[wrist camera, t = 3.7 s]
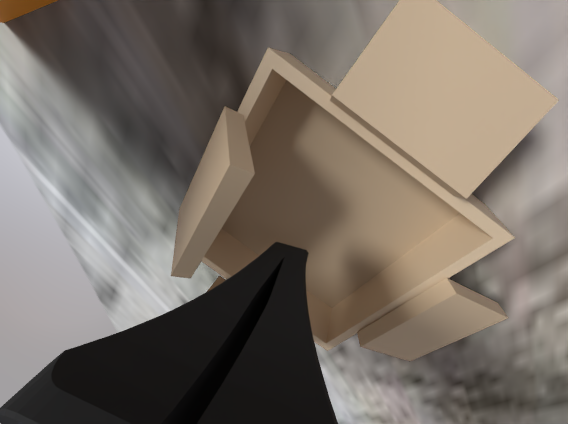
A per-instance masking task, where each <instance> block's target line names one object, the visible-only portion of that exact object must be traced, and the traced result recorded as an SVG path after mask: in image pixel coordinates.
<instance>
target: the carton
mask: <svg viewBox="0 0 568 424" xmlns="http://www.w3.org/2000/svg"><path fill="white" fill-rule="evenodd" d="M558 101H559V100H558V99H557V98H556V97H555V96H554V95H552V94H551V93H550V92H549V91H547V90H546V89H545V88H544V87H542V86H541V85H540V84H539V83H538V82H536V81H535V80H534V79H533V78H531V77H530V76H529V75H528V74H526V73H525V72H524V71H523V70H522V69H520V68H519V67H518V66H517V65H515V64H514V63H513V62H512V61H510V60H509V59H508V58H507V57H506V56H504V55H503V54H502V53H501V52H499V51H498V50H497V49H496V48H494V47H493V46H492V45H491V44H489V43H488V42H487V41H486V40H485V39H483V38H482V37H481V36H480V35H478V34H477V33H476V32H475V31H473V30H472V29H471V28H470V27H469V26H467V25H466V24H465V23H464V22H462V21H461V20H460V19H459V18H457V17H456V16H455V15H454V14H453V13H451V12H450V11H449V10H448V9H446V8H445V7H444V6H443V5H441V4H440V3H439V2H438V1H436V0H399V2H398V3H397V4H396V6H395V7H394V9H393V10H392V11H391V13H390V14H389V16H388V17H387V18H386V20H385V21H384V23H383V24H382V25H381V27H380V28H379V30H378V31H377V32H376V34H375V35H374V37H373V38H372V39H371V41H370V42H369V44H368V45H367V47H366V48H365V49H364V51H363V52H362V54H361V55H360V56H359V58H358V59H357V61H356V62H355V63H354V65H353V66H352V68H351V69H350V70H349V72H348V73H347V75H346V76H345V77H344V79H343V80H342V82H341V83H340V84H339V86H338V87H337V89H335V88H334V87H333V86H332V85H330V84H329V83H328V82H326V81H325V80H324V79H323V78H321V77H320V76H319V75H317V74H316V73H315V72H313V71H312V70H311V69H310V68H308V67H307V66H306V65H304V64H303V63H302V62H301V61H299V60H298V59H297V58H295V57H294V56H293V55H291V54H289V53H286V52H282V51H279V50H275V49H272V48H269V47H268V48H267V51H266V53H265V55H264V57H263V59H262V61H261V63H260V65H259V67H258V69H257V71H256V74H255V76H254V78H253V80H252V82H251V84H250V86H249V88H248V90H247V92H246V94H245V97H244V99H243V101H242V103H241V105H240V107H239V109H238V111H237V112H238V113H240V114H242V115H243V116H244V121H245V126H246V131H247V136H248V141H249V146H250V151H251V156H252V161H253V166H254V172H255V174H254V176H253V178H252V179H251V181H250V182H249V184H248V186H247V187H246V189H245V191H244V192H243V194H242V195H241V197H240V199H239V200H238V202H237V204H236V205H235V207H234V208H233V210H232V212H231V213H230V215H229V217H228V218H227V220H226V222H225V223H224V225H223V226H222V228H221V230H220V231H219V233H218V235H217V236H216V238H215V239H214V241H213V243H212V244H211V246H210V248H209V249H208V251H207V253H206V254H205V256H204V257H203V259H202V262H203V263H205V264H206V265H207V266H209V267H210V268H212V269H213V270H214V271H216V272H217V273H219V274H220V275H221V276H223V277H224V278H226V279H228V278H230V277H231V276H233V275H234V274H236V273H237V272H239V271H240V270H241V269H243V268H244V267H245V266H247V265H248V264H249V263H251V262H252V261H253V260H255V259H256V258H257V257H258V256H260V255H261V254H262V253H263V252H264V251H266V250H267V249H268V248H269V247H270V246H271V245H272V244H274V243H275V242H280V243H283V244H287V245H291V246H294V247H298V248H301V249H305V250H307V252H308V253H309V254H308V258H307V263H306V294H307V304H308V311H309V318H310V324H311V329H312V334H313V339H314V342H315V343H317V344H318V345H320V346H321V347H323V348H324V349H325V350H327V351H328V350H330V349H332V348H333V347H335V346H337V345H338V344H340V343H342V342H343V341H345V340H347V339H348V338H350V337H352V336H353V335H355V334H358V338H359V343H360V347H363V348H366V349H370V350H373V351H376V352H380V353H383V354H387V355H390V356H393V357H397V358H400V359H403V360H407V361H412V360H415V359H417V358H419V357H421V356H424V355H426V354H428V353H430V352H433V351H435V350H437V349H440V348H442V347H444V346H446V345H449V344H451V343H453V342H455V341H458V340H460V339H462V338H464V337H467V336H469V335H471V334H474V333H476V332H478V331H480V330H483V329H485V328H487V327H489V326H492V325H494V324H496V323H499V322H501V321H503V320H505V319H508V316H507V315H506V314H505V312H504V311H503V310H502V308H501V307H500V306H499V304H498V303H497V302H495V301H493V300H491V299H489V298H487V297H485V296H483V295H481V294H479V293H476V292H474V291H472V290H470V289H468V288H466V287H464V286H462V285H460V284H458V283H456V282H454V281H452V280H450V279H448V278H449V277H451V276H453V275H454V274H456V273H458V272H459V271H461V270H463V269H464V268H466V267H468V266H469V265H471V264H473V263H474V262H476V261H478V260H479V259H481V258H483V257H484V256H486V255H488V254H489V253H491V252H493V251H494V250H496V249H498V248H499V247H501V246H503V245H504V244H506V243H507V242H509V241H511V240H512V239H514V238H515V237H514V236H513V235H512V234H511V233H510V232H509V230H508V229H507V228H506V227H505V226H504V225H503V224H502V223H501V222H500V221H499V219H498V218H497V217H496V216H495V215H494V214H493V213H492V212H491V211H490V209H489V208H488V207H487V206H486V205H485V204H484V203H483V202H482V201H480V200H479V199H478V198H476V197H475V196H474V195H473V194H471V193H472V192H473V191H474V190H475V189H476V188H477V187H478V186H479V185H480V184H481V183H482V182H483V181H484V180H485V179H486V178H487V176H488V175H489V174H490V173H491V172H492V171H493V170H494V169H495V168H496V167H497V166H498V165H499V164H500V163H501V162H502V160H503V159H504V158H505V157H506V156H507V155H508V154H509V153H510V152H511V151H512V150H513V149H514V148H515V147H516V146H517V144H518V143H519V142H520V141H521V140H522V139H523V138H524V137H525V136H526V135H527V134H528V133H529V132H530V131H531V130H532V128H533V127H534V126H535V125H536V124H537V123H538V122H539V121H540V120H541V119H542V118H543V117H544V116H545V115H546V114H547V112H548V111H549V110H550V109H551V108H552V107H553V106H554V105H555V104H556V103H557V102H558Z"/></svg>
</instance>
